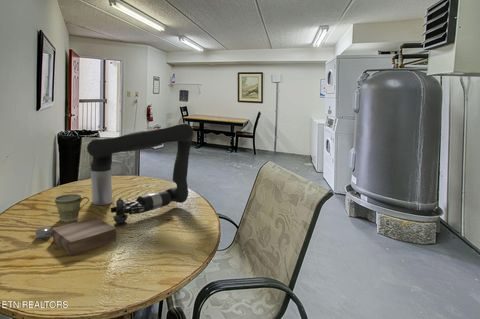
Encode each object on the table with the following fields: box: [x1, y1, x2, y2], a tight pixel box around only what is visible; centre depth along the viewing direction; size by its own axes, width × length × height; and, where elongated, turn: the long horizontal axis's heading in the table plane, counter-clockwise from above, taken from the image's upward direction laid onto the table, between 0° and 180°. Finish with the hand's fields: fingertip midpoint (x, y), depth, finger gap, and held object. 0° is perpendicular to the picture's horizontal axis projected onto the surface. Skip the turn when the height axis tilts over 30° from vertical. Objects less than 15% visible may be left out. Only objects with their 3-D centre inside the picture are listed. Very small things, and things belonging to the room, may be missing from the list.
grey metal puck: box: [35, 226, 53, 240], centre depth 114 cm, size 5×5×3 cm
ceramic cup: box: [54, 193, 90, 223], centre depth 131 cm, size 13×10×10 cm
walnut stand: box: [51, 216, 118, 257], centre depth 112 cm, size 16×16×5 cm
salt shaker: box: [112, 197, 129, 228], centre depth 127 cm, size 6×6×12 cm
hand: (114, 211), depth 125 cm, fingers closed on salt shaker, 3 cm apart
